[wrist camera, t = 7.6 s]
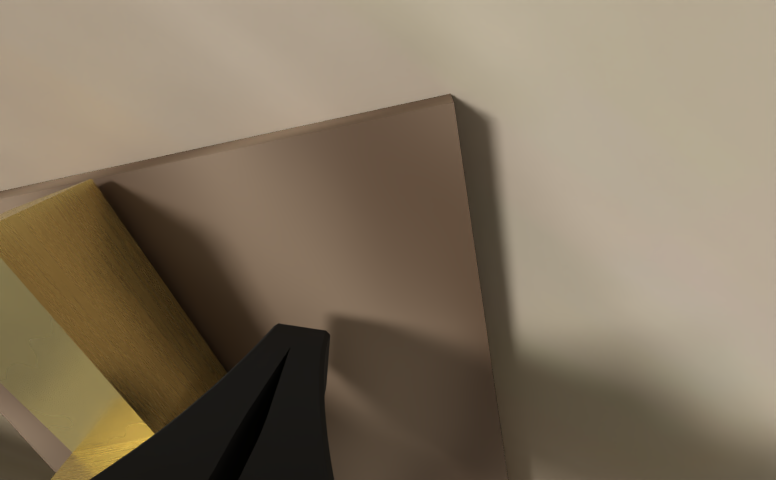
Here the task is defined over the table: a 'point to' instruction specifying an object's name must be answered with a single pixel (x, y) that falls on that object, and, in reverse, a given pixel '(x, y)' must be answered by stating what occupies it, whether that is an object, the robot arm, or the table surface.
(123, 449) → the door handle
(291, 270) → the base
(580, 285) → the table surface
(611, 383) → the table surface
